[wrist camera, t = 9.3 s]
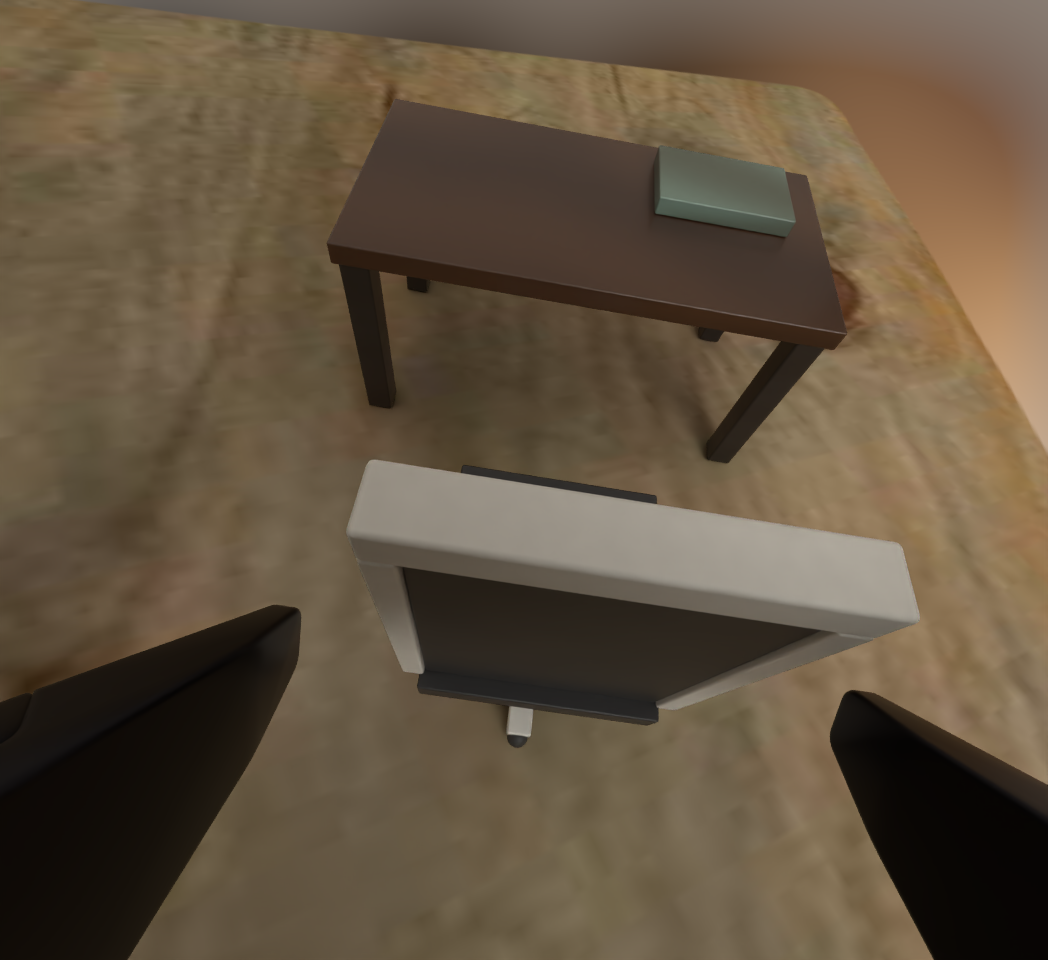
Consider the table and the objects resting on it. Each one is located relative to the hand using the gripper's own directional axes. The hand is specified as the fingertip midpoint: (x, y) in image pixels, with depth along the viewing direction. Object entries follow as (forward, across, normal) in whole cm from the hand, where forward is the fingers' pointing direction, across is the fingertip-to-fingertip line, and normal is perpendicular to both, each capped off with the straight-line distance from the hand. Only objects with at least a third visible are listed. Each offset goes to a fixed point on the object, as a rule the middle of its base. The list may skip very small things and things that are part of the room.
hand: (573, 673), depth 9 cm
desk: (+17, 0, -4) cm, 17 cm away
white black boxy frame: (+8, 0, +4) cm, 9 cm away
